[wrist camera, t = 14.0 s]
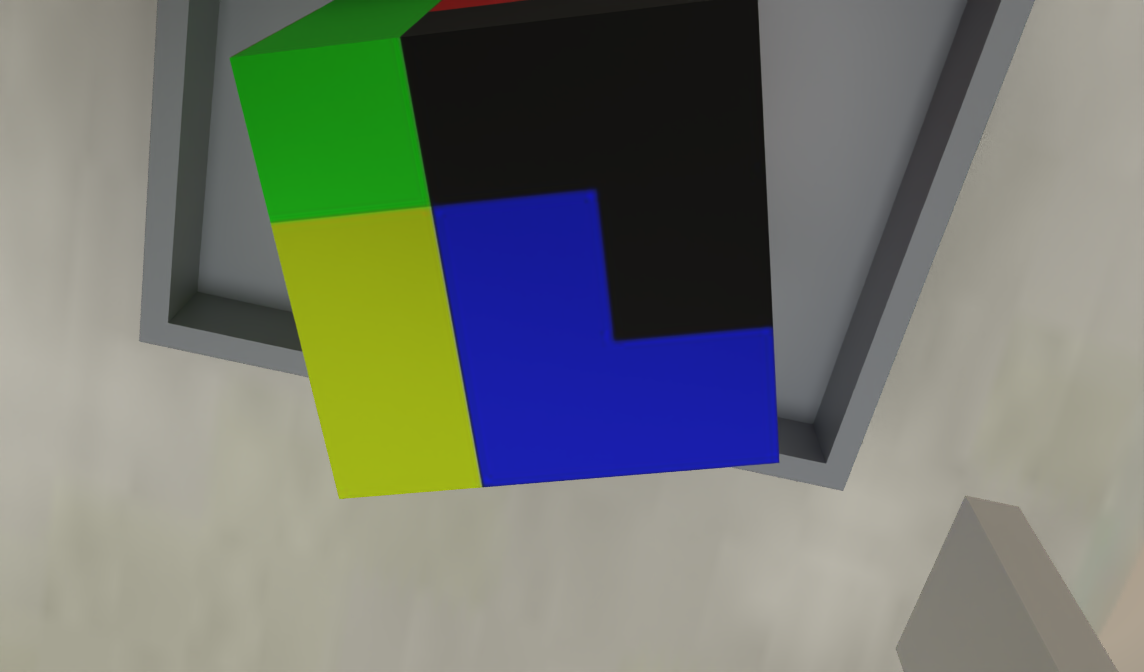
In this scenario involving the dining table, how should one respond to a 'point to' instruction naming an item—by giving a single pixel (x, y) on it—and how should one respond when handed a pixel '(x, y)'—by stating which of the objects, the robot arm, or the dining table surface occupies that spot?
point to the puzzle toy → (522, 235)
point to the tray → (793, 175)
